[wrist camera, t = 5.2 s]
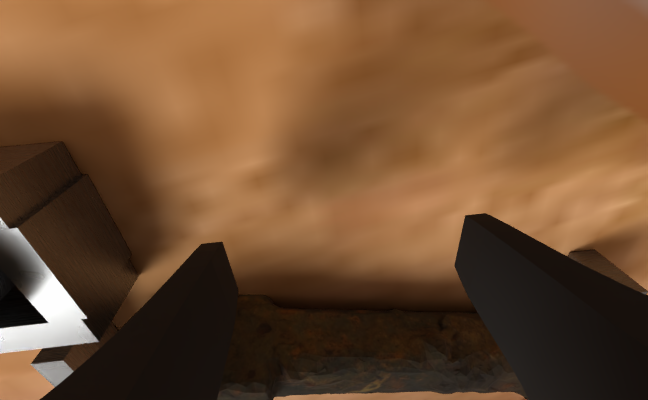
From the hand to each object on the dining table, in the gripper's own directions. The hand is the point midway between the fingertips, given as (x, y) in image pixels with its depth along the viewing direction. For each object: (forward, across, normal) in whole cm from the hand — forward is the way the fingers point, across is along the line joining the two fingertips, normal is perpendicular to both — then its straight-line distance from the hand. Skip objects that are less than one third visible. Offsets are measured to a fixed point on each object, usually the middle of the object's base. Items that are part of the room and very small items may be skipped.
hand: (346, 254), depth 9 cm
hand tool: (+3, 0, +7) cm, 8 cm away
